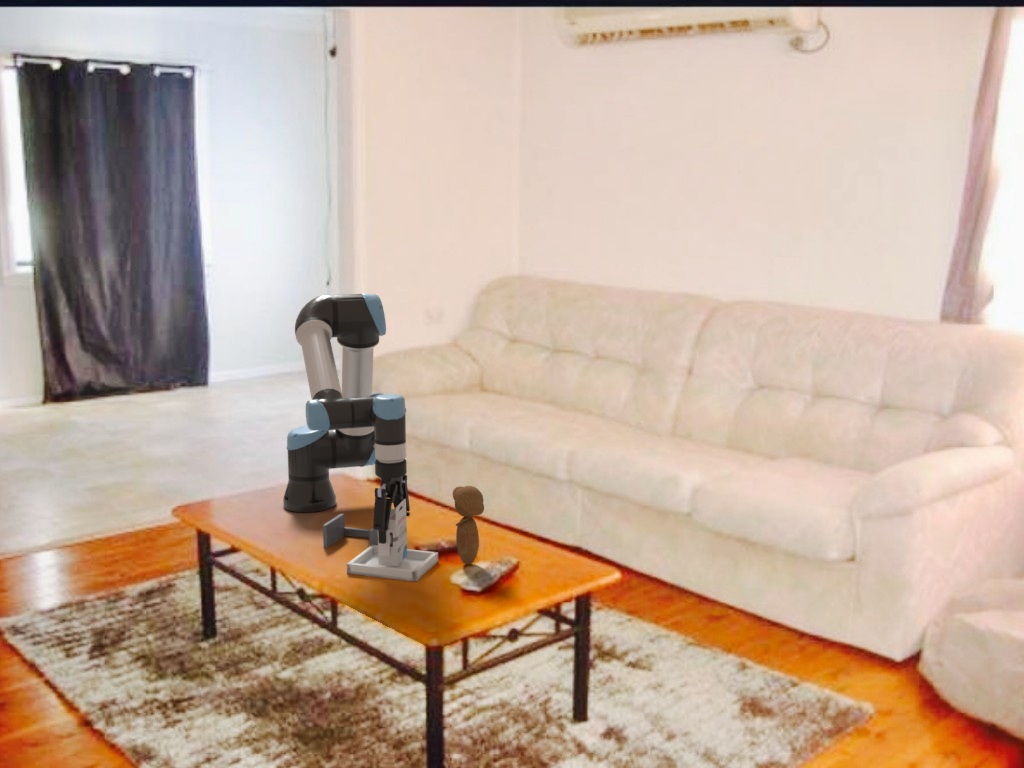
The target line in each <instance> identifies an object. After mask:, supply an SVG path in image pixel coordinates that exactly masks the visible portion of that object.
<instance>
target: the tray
mask: <svg viewBox="0 0 1024 768" xmlns="http://www.w3.org/2000/svg"><path fill="white" fill-rule="evenodd" d="M438 562H439V552H436V551H427V550H418V549H413V548H412V549H411V548H407V555H406V556H405V557H404V559H403V560H402V561H401V562H400V563H399V565H398V566H386V565H378V545H371V546H370V547H369V546H368V547H367V548H366V549H365V550H363V551H362V552H360V553H358V555H356V556H355V557H354V558H353V559H351V560H350V561H348V562H347V563H346V574H351V575H359V576H367V577H374V578H380V579H381V578H382V579H390V580H398V581H403V582H404V581H407V582H418V581H419V580H420V579H421V578H422V577H423V576H424V575H425V574H426V573H427V572H429V571H430V570H431V569H432V568H433V567H434V566H435V565H436V564H437V563H438Z"/></svg>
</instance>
